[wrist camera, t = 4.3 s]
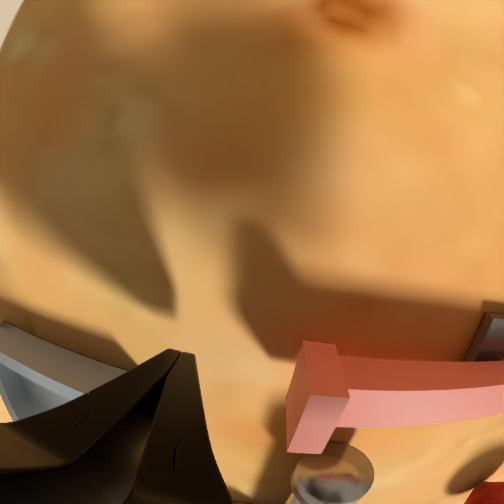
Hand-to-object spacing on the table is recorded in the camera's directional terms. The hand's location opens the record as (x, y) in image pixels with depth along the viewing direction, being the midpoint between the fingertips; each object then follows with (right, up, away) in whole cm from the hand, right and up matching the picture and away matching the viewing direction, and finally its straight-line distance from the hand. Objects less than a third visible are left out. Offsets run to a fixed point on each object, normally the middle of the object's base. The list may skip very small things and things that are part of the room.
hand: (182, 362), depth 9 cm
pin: (+5, -11, +4) cm, 13 cm away
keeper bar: (+11, -1, +1) cm, 11 cm away
